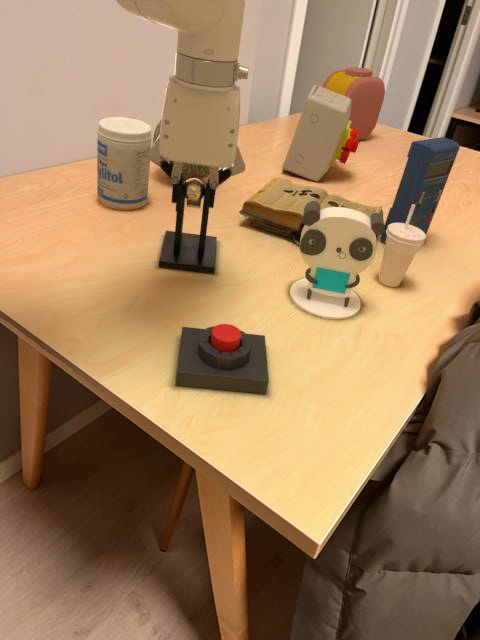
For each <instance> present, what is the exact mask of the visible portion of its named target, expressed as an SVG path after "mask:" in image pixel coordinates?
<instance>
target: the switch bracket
mask: <svg viewBox="0 0 480 640" xmlns="http://www.w3.org/2000/svg"><path fill="white" fill-rule="evenodd" d="M185 182H186V181H184V183H185ZM204 185H205V189H206V184H204ZM204 198H205V195H204V197H203V199H204ZM185 207H186V198H185V196H184V194H183V199H182V207H181V211H179V212H176V213H175V214H176V216H175V229H174V231H173V230H165V233H164V237H163V241H162V246H161V251H160V255H159V259H158V268H162V269H170V270H178V271H179V270H180V271H188V272H196V273H202V274H203V273H204V274H211V275H212V274H213V275H214V274H215V272H216V261H217V260H216V259H217V242H218V241H217V240H218V239H217V236H215V235H207V232H208V223H209V214H210V208H208V215H204V214H203V210H202V211H201V213H202V214H201V221H200V228H199V229H200V231H199V234H198V233H189V232H183V229H184V219H185V218H184V217H185ZM203 207H204V201H203V203H202V208H203Z"/></svg>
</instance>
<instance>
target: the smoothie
mask: <svg viewBox="0 0 480 640" xmlns="http://www.w3.org/2000/svg"><path fill="white" fill-rule="evenodd" d="M414 208H415V205H414V204H412V206H411V209H410V212H409V214H408V217H407V220H406V223H392V224H389V225H388V228H387V230H386V233H387V238H386V243H384V247H383V248H384V249H383V252H382V253H383V254H382V259H381V263H380V269H379V274H378V281H379V282H380V283H381V284H382V285H384V286H386V287H390V288H396V287H399V286H400V284H401V283H402V281H403V279H404V277H405V275H406V274H407V271H408V269H409V268H410V267H411V264H412V262H413V260H414V258H415V257H416V255H417V253H418V252H419V249H420V247H421V245H423V244H425V242H426V238H427V234H425V233H424V232H423V231H422V230H421V229H419V228H417V227H415V226H412V225H409V222H410V219H411V216H412V214H413V211H414Z"/></svg>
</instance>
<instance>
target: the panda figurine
mask: <svg viewBox="0 0 480 640" xmlns="http://www.w3.org/2000/svg"><path fill="white" fill-rule="evenodd" d="M303 223H304V224H305V225H304V227H303V230H302V233H301V239H300V245H299V252H300V255H301V257H302V259H303V261H304V263H305V264H306V265H307V266H308V268H307V269H306V270H305V272H304V278H301V279H298V280H296V281H294V282H293V283H292V285H291V286H290V289H289V296H290V299H291V301H292V302H293V304H295V305H296V306H297V307H298V308H299V309H301V310H303V311H304V312H306V313H308V314H310V315H313V316H316V317H319V318H323V319H327V320H344V319H350V318H353V317H354V316H355V315H357V314H358V313H359V311H360V309H361V304H362V303H361V300H360V298H359V296H358V295H357V293H355V292H354V290H353V288H355V287H357V286H358V285H359V284H360V282H361V277H360V274H361V273H363V272H364V271H366V270H367V269H368V268H369V267H370V266H371V264H373V262H374V260H375V257H376V253H377V236H381V235H382V234H383V233H384V231H385V226H384V225H385V220H384V215H383V216H382V214H380V213H373V214H372V215H371V217H370V218H369V217H368V216H367V215H365V214H364V213H362V212H359V211H356V210H353V209H349V208H344V207H329V208H325V209H322V210H321V206H320V204H319V203H318V202H317V201H311V202H309V203H307V204H306V206H305V208H304V213H303ZM375 234H377V235H375Z"/></svg>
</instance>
